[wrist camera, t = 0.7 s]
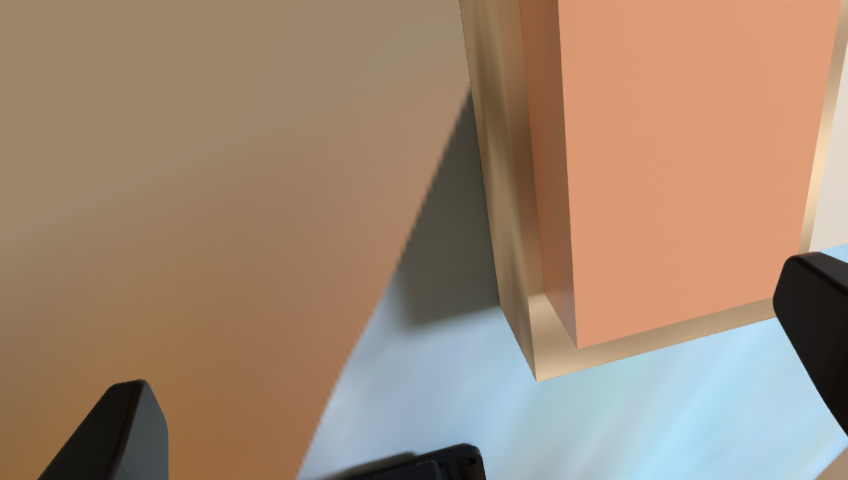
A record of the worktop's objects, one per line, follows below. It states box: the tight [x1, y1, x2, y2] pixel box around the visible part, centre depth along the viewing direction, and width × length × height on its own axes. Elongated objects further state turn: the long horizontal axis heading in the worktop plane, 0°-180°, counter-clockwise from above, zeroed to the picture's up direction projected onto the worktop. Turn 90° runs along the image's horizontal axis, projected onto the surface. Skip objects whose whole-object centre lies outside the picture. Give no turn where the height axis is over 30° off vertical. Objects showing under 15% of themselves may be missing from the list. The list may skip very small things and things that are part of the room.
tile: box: [519, 0, 841, 349], centre depth 16 cm, size 9×6×2 cm, turn 9°
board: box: [459, 0, 848, 382], centre depth 19 cm, size 16×9×4 cm, turn 9°
